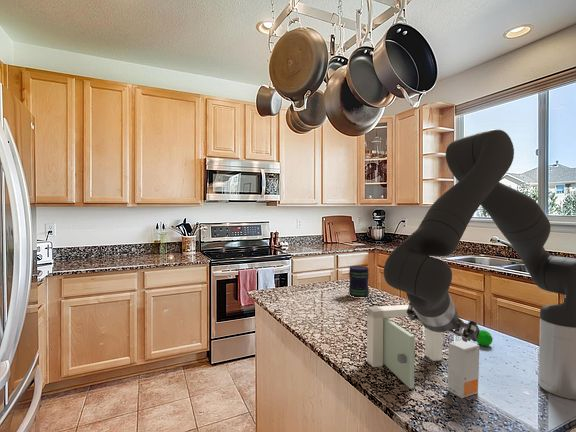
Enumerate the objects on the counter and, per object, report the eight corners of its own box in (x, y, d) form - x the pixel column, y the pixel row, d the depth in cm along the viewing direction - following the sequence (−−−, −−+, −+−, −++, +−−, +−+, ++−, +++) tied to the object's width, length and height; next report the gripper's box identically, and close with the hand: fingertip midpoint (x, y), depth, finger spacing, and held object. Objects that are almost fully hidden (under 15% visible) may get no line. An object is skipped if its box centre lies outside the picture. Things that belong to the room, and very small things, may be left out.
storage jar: (366, 300, 162) (366, 269, 161) (346, 297, 166) (347, 268, 166) (370, 295, 171) (370, 266, 170) (351, 293, 175) (351, 265, 175)
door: (414, 387, 82) (415, 336, 82) (403, 389, 81) (404, 337, 81) (383, 359, 97) (384, 316, 97) (374, 360, 96) (375, 316, 96)
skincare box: (462, 399, 78) (463, 349, 78) (446, 390, 82) (447, 342, 81) (479, 393, 80) (480, 345, 80) (463, 384, 84) (464, 338, 84)
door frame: (433, 354, 102) (434, 303, 101) (442, 360, 98) (443, 306, 98) (366, 360, 97) (367, 307, 97) (373, 367, 93) (373, 311, 93)
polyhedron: (471, 342, 111) (471, 328, 111) (483, 341, 112) (483, 327, 112) (483, 349, 106) (484, 334, 106) (496, 347, 107) (496, 332, 107)
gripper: (478, 301, 63) (484, 326, 74) (405, 281, 72) (420, 306, 83) (468, 338, 61) (476, 358, 72) (394, 313, 70) (411, 334, 81)
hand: (446, 330), depth 78 cm, fingers open, 8 cm apart
